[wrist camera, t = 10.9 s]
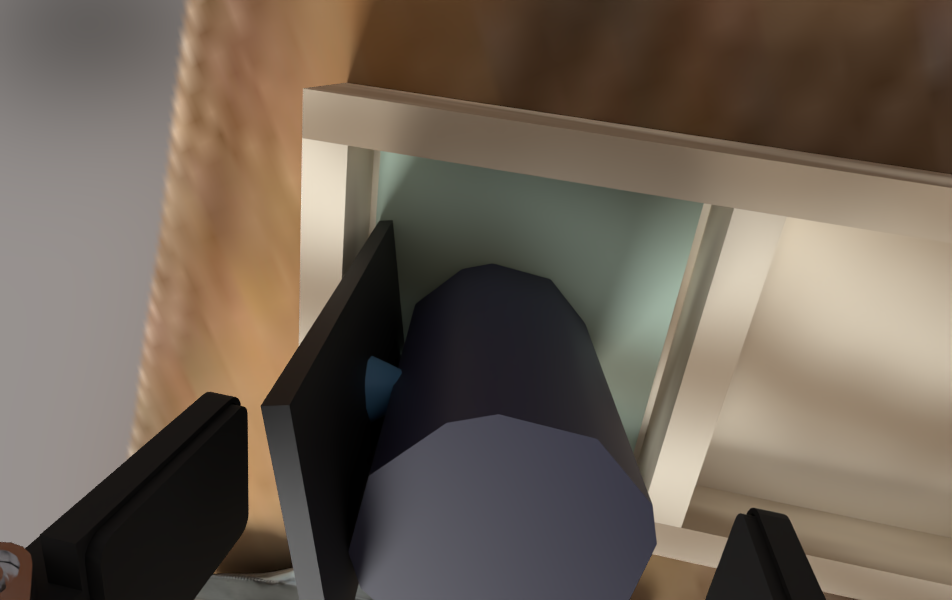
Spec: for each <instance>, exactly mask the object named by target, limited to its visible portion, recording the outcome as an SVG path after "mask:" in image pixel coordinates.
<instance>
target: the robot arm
mask: <svg viewBox="0 0 952 600" xmlns="http://www.w3.org/2000/svg"><path fill="white" fill-rule="evenodd" d="M247 521H248V416H247V409H246V408H245V407H243V406H241V404H240V401H239V399H238V398H236V397H232V396H228V395H223V394H218V393H214V392H207V393H205V394H203V395H202V396H201V397H200V398H199V399H198V400H196V401H195V402H194V403H193V404H192V405H191V406H189V407H188V408H187V409H186V410H185V411H184V412H182V413H181V414H180V415H179V416H178V417H177V418H175V419H174V420H173V421H172V422H171V423H170V424H168V425H167V426H166V427H165V428H164V429H163V430H161V431H160V432H159V433H158V434H157V435H156V436H154V437H153V438H152V439H151V440H150V441H149V442H147V443H146V444H145V445H144V446H143V447H142V448H140V449H139V450H138V451H137V452H136V453H135V454H133V455H132V456H131V457H130V458H129V459H128V460H127V461H125V462H124V463H123V464H122V465H121V466H120V467H118V468H117V469H116V470H115V471H114V472H113V473H111V474H110V475H109V476H108V477H107V478H106V479H104V480H103V481H102V482H101V483H100V484H99V485H98V486H96V487H95V488H94V489H93V490H92V491H91V492H89V493H88V494H87V495H86V496H85V497H83V498H82V499H81V500H80V501H79V502H78V503H76V504H75V505H74V506H73V507H72V508H71V509H70V510H69V511H67V512H66V513H65V514H64V515H62V516H61V517H60V518H59V519H58V520H57V521H55V522H54V523H53V524H52V525H51V526H50V527H48V528H47V529H46V530H45V531H44V532H43V533H42V534H40V536H39V537H38V538H37V539H36V540H34V541H33V542H32V543H31V544H30V545H29V546H28V547H26V548H24V547H23V546H20V545H17V544H14V543H11V542H0V600H194V599H195V598H196V596H197V595H198V594H199V592H200V591H201V589H202V588H203V587H204V585H205V584H206V583H207V581H208V580H209V579H210V577H211V576H212V574H213V573H214V572H215V570H216V569H217V568H218V566H219V565H220V564H221V562H222V561H223V559H224V558H225V557H226V555H227V554H228V553H229V551H230V550H231V549H232V547H233V546H234V544H235V543H236V542H237V540H238V539H239V538H240V536H241V535H242V533H243V531H244V529H245V527H246V524H247ZM705 600H826V599H825V596H824V594H823V592H822V590H821V588H820V585H819V583H818V581H817V579H816V576H815V574H814V572H813V570H812V568H811V565H810V563H809V561H808V559H807V557H806V554H805V552H804V550H803V548H802V545H801V543H800V541H799V539H798V537H797V534H796V532H795V530H794V528H793V525H792V523H791V521H790V519H789V518H788V516H787V515H785V514H782V513H777V512H772V511H768V510H763V509H758V508H750V509H749V511H748V512H747V514H742V513H740V514H738V515H737V516H736V518H735V521H734V523H733V526H732V529H731V531H730V534H729V537H728V540H727V542H726V545H725V548H724V550H723V553H722V556H721V559H720V561H719V564H718V567H717V569H716V572H715V575H714V578H713V580H712V583H711V586H710V588H709V591H708V594H707V596H706V599H705Z"/></svg>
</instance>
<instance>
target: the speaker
mask: <svg viewBox="0 0 952 600" xmlns="http://www.w3.org/2000/svg"><path fill="white" fill-rule="evenodd" d="M261 410H262V415H263V420H264V425H265V430H266V435H267V440H268V445H269V450H270V455H271V460H272V465H273V470H274V475H275V480H276V485H277V490H278V495H279V500H280V505H281V510H282V515H283V520H284V525H285V530H286V535H287V540H288V545H289V550H290V555H291V560H292V565H293V570H294V575H295V580H296V585H297V590H298V595H299V600H355V597H356V593H357V589H358V585H360V588H361V589H362V590H363V591H364V592H365V593H367V594H368V595H369V596H370V597H371V598H372V599H373V600H629V599H630V597H631V595H632V593H633V591H634V589H635V587H636V585H637V583H638V581H639V579H640V577H641V575H642V573H643V571H644V569H645V567H646V565H647V563H648V561H649V559H650V557H651V555H652V553H653V551H654V549H655V547H656V545H657V539H656V531H655V522H654V513H653V505H652V502H651V499H650V497H649V494H648V491H647V489H646V486H645V483H644V481H643V478H642V475H641V473H640V470H639V467H638V464H637V462H636V459H635V456H634V454H633V451H632V448H631V446H630V443H629V440H628V437H627V435H626V432H625V429H624V427H623V424H622V421H621V419H620V416H619V413H618V411H617V408H616V405H615V402H614V400H613V397H612V394H611V392H610V389H609V386H608V384H607V381H606V378H605V376H604V373H603V370H602V367H601V365H600V362H599V359H598V357H597V354H596V351H595V349H594V346H593V343H592V341H591V338H590V335H589V332H588V330H587V327H586V324H585V323H584V321H583V320H582V319H581V317H580V316H579V315H578V314H577V312H576V311H575V310H574V308H573V307H572V306H571V305H570V303H569V302H568V301H567V299H566V298H565V297H564V296H563V294H562V293H561V292H560V290H559V289H558V288H557V287H556V285H555V284H554V283H553V282H552V280H551V279H548V278H544V277H541V276H537V275H533V274H530V273H526V272H522V271H519V270H515V269H511V268H508V267H504V266H501V265H497V264H493V263H491V264H486V265H481V266H475V267H470V268H465V269H461V270H460V271H459V272H457V273H456V274H455V275H453V276H452V277H451V278H449V279H448V280H447V281H445V282H444V283H443V284H441V285H440V286H439V287H437V288H436V289H435V290H433V291H432V292H431V293H429V294H428V295H427V296H425V297H424V298H423V299H421V300H420V301H419V302H417V303H416V304H415V307H414V310H413V314H412V318H411V322H410V325H409V329H408V333H407V336H406V340H405V343H404V333H403V322H402V312H401V301H400V291H399V280H398V270H397V259H396V249H395V238H394V228H393V220H385V221H379V222H378V223H377V225H376V227H375V228H374V230H373V231H372V233H371V234H370V236H369V238H368V239H367V241H366V242H365V244H364V245H363V247H362V248H361V250H360V252H359V253H358V255H357V256H356V258H355V259H354V261H353V263H352V264H351V266H350V267H349V269H348V270H347V272H346V273H345V275H344V277H343V278H342V280H341V281H340V283H339V284H338V286H337V288H336V289H335V291H334V292H333V294H332V295H331V297H330V298H329V300H328V302H327V303H326V305H325V306H324V308H323V309H322V311H321V313H320V314H319V316H318V317H317V319H316V320H315V322H314V324H313V325H312V327H311V328H310V330H309V331H308V333H307V334H306V336H305V338H304V339H303V341H302V342H301V344H300V345H299V347H298V349H297V350H296V352H295V353H294V355H293V356H292V358H291V359H290V361H289V363H288V364H287V366H286V367H285V369H284V370H283V372H282V374H281V375H280V377H279V378H278V380H277V381H276V383H275V384H274V386H273V388H272V389H271V391H270V392H269V394H268V395H267V397H266V399H265V400H264V402H263V403H262V405H261Z"/></svg>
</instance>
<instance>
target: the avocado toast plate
mask: <svg viewBox="0 0 952 600" xmlns="http://www.w3.org/2000/svg"><path fill="white" fill-rule="evenodd" d="M194 600H299V595H298V590H297V585H296V580H295V575H294V570H293V568H289V569H284V570H279V571H274V572H266V573H249V574H240V573H221V574H212V576H211V577H210V579H209V580H208V581H207V583H206V584H205V585H204V587H203V588H202V589H201V591H200V592H199V594H198V595H197V596H196V598H195V599H194ZM355 600H373V599H372V598H371V597H370V596H369V595H368V594H367V593H365V592H364V591H363V590H362V589H361V588H360V585H358V589H357V593H356V597H355Z"/></svg>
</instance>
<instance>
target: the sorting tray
mask: <svg viewBox="0 0 952 600" xmlns="http://www.w3.org/2000/svg"><path fill="white" fill-rule="evenodd" d="M385 220H393V228H394V238H395V249H396V259H397V270H398V280H399V291H400V301H401V312H402V322H403V333H404V343H405V340H406V336H407V333H408V329H409V325H410V322H411V318H412V314H413V310H414V307H415V304H416V303H417V302H419V301H420V300H421V299H423V298H424V297H425V296H427V295H428V294H429V293H431V292H432V291H433V290H435V289H436V288H437V287H439V286H440V285H441V284H443V283H444V282H445V281H447V280H448V279H449V278H451V277H452V276H453V275H455V274H456V273H457V272H459V271H460V270H461V269H465V268H470V267H475V266H481V265H486V264H491V263H493V264H497V265H501V266H504V267H508V268H511V269H515V270H519V271H522V272H526V273H530V274H533V275H537V276H541V277H544V278H548V279H551V280H552V282H553V283H554V284H555V285H556V287H557V288H558V289H559V290H560V292H561V293H562V294H563V296H564V297H565V298H566V299H567V301H568V302H569V303H570V305H571V306H572V307H573V308H574V310H575V311H576V312H577V314H578V315H579V316H580V317H581V319H582V320H583V321H584V323H585V324H586V327H587V330H588V332H589V335H590V338H591V341H592V343H593V346H594V349H595V351H596V354H597V357H598V359H599V362H600V365H601V367H602V370H603V373H604V376H605V378H606V381H607V384H608V386H609V389H610V392H611V394H612V397H613V400H614V402H615V405H616V408H617V411H618V413H619V416H620V419H621V421H622V424H623V427H624V429H625V432H626V435H627V437H628V440H629V443H630V446H631V448H632V451H633V454H634V456H635V459H636V462H637V464H638V467H639V470H640V473H641V475H642V478H643V481H644V483H645V486H646V489H647V491H648V494H649V497H650V499H651V502H652V505H653V513H654V522H655V531H656V539H657V545H656V547H655V549H654V551H653V553H652V554H654V555H659V556H663V557H668V558H672V559H677V560H681V561H686V562H690V563H695V564H700V565H704V566H709V567H713V568H717V567H718V564H719V561H720V559H721V556H722V553H723V550H724V548H725V545H726V542H727V540H728V537H729V534H730V531H731V529H732V526H733V523H734V521H735V518H736V516H737V515H738V514H740V513H742V514H747V512H748V511H749V509H750V508H758V509H763V510H768V511H772V512H777V513H782V514H785V515H787V516H788V518H789V519H790V521H791V523H792V525H793V528H794V530H795V532H796V534H797V537H798V539H799V541H800V543H801V545H802V548H803V550H804V552H805V554H806V557H807V559H808V561H809V563H810V565H811V568H812V570H813V572H814V574H815V576H816V579H817V581H818V583H819V585H820V588H821V590H822V592H827V593H831V594H836V595H840V596H845V597H850V598H854V599H859V600H952V174H946V173H939V172H933V171H926V170H919V169H913V168H906V167H900V166H893V165H886V164H880V163H873V162H867V161H860V160H853V159H847V158H840V157H834V156H827V155H820V154H814V153H807V152H801V151H794V150H787V149H781V148H774V147H768V146H761V145H754V144H748V143H741V142H735V141H728V140H721V139H715V138H708V137H702V136H695V135H688V134H682V133H675V132H669V131H662V130H655V129H649V128H642V127H636V126H629V125H622V124H616V123H609V122H603V121H596V120H589V119H583V118H576V117H570V116H563V115H556V114H550V113H543V112H537V111H530V110H523V109H517V108H510V107H504V106H497V105H490V104H484V103H477V102H471V101H464V100H457V99H451V98H444V97H438V96H431V95H424V94H418V93H411V92H405V91H398V90H391V89H385V88H378V87H372V86H365V85H358V84H352V83H340V84H333V85H325V86H318V87H310V88H303V123H302V185H301V247H300V309H299V345H300V344H301V342H302V341H303V339H304V338H305V336H306V334H307V333H308V331H309V330H310V328H311V327H312V325H313V324H314V322H315V320H316V319H317V317H318V316H319V314H320V313H321V311H322V309H323V308H324V306H325V305H326V303H327V302H328V300H329V298H330V297H331V295H332V294H333V292H334V291H335V289H336V288H337V286H338V284H339V283H340V281H341V280H342V278H343V277H344V275H345V273H346V272H347V270H348V269H349V267H350V266H351V264H352V263H353V261H354V259H355V258H356V256H357V255H358V253H359V252H360V250H361V248H362V247H363V245H364V244H365V242H366V241H367V239H368V238H369V236H370V234H371V233H372V231H373V230H374V228H375V227H376V225H377V223H378V222H379V221H385Z"/></svg>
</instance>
